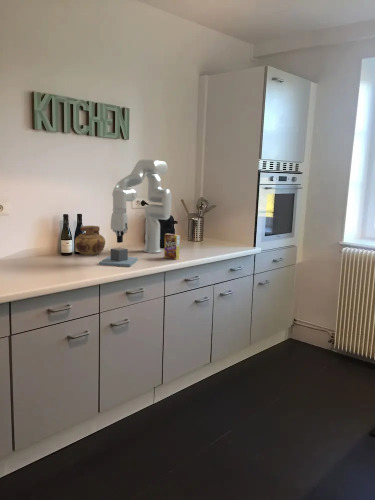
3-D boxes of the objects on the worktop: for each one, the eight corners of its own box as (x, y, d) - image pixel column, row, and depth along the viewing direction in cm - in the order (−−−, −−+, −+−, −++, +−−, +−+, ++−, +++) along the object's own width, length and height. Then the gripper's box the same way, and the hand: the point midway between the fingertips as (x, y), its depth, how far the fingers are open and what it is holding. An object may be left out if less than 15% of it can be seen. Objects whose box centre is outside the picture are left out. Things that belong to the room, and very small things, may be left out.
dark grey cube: (110, 259, 256) (110, 248, 255) (119, 258, 262) (119, 247, 260) (119, 261, 252) (119, 250, 251) (127, 259, 257) (127, 248, 256)
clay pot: (101, 253, 266) (89, 222, 264) (75, 262, 271) (63, 232, 269) (113, 248, 285) (102, 219, 282) (88, 256, 289) (77, 228, 287)
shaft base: (109, 258, 268) (109, 248, 267) (137, 260, 266) (138, 250, 265) (98, 265, 248) (98, 254, 247) (130, 266, 246) (130, 256, 245)
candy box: (163, 258, 275) (164, 233, 272) (167, 256, 279) (168, 233, 276) (175, 259, 271) (176, 235, 268) (179, 258, 274) (180, 234, 272)
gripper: (105, 210, 253) (106, 241, 257) (124, 212, 244) (124, 244, 248) (115, 209, 259) (115, 239, 263) (133, 211, 250) (133, 243, 254)
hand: (119, 242), depth 255 cm, fingers closed
